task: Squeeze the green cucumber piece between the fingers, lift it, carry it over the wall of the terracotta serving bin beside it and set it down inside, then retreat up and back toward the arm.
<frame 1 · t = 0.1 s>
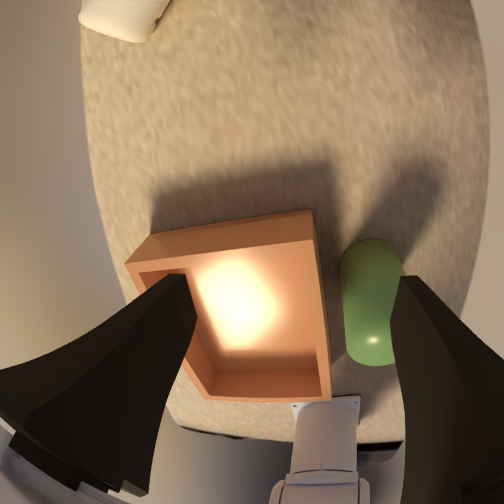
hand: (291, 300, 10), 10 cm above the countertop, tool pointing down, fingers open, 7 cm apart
cucumber piece: (369, 266, 20), on the countertop
terracotta bin: (251, 310, 24), on the countertop
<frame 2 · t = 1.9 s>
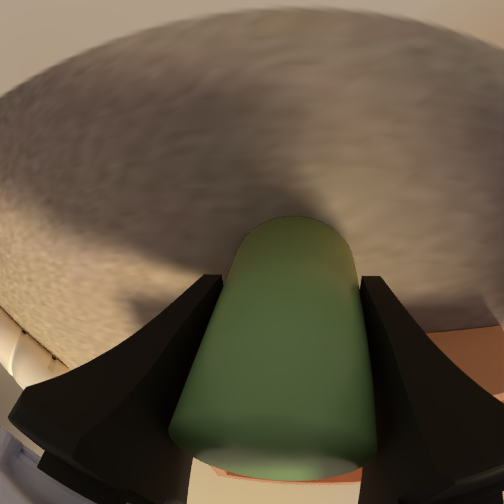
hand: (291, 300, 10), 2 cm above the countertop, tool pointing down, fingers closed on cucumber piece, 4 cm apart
cucumber piece: (294, 271, 11), on the countertop, touching gripper
terracotta bin: (344, 401, 15), on the countertop
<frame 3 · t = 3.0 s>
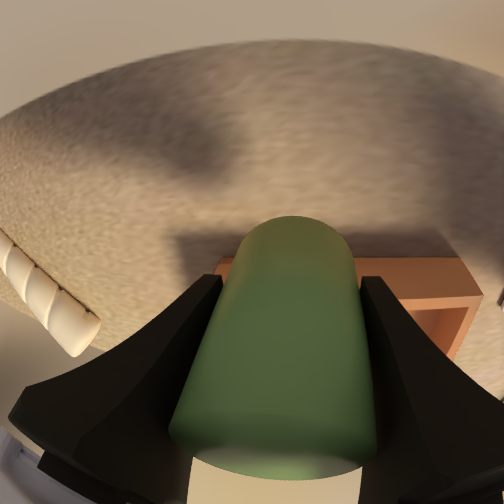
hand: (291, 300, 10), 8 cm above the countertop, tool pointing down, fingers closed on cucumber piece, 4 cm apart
unicorn horn: (27, 259, 24), on the countertop
cucumber piece: (294, 271, 11), point 6 cm above the countertop, touching gripper
terracotta bin: (340, 326, 21), on the countertop
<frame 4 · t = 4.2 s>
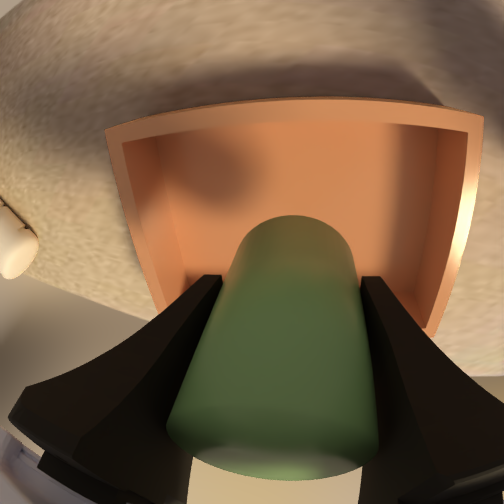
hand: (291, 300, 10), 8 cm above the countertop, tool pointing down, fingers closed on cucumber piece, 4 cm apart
cucumber piece: (294, 270, 11), point 6 cm above the countertop, touching gripper
terracotta bin: (300, 208, 16), on the countertop
when the fingers open (4 cm above the countertop, at t = 5.2 s): cucumber piece drops 1 cm, resting on terracotta bin.
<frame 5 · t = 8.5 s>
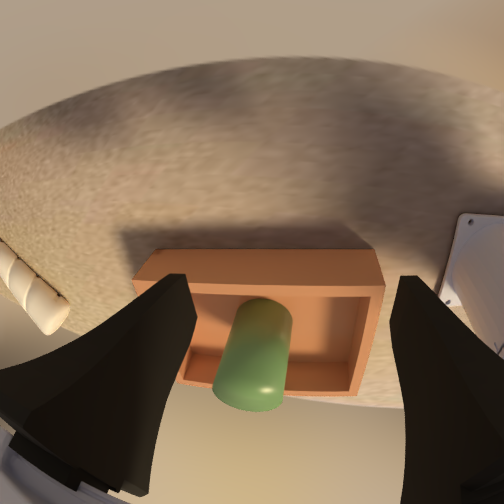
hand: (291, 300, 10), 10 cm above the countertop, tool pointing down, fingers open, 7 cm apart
unicorn horn: (12, 253, 28), on the countertop
cucumber piece: (264, 320, 23), point 1 cm above the countertop, touching terracotta bin
terracotta bin: (265, 313, 24), on the countertop
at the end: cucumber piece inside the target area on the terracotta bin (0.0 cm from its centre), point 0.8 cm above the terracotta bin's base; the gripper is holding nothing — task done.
